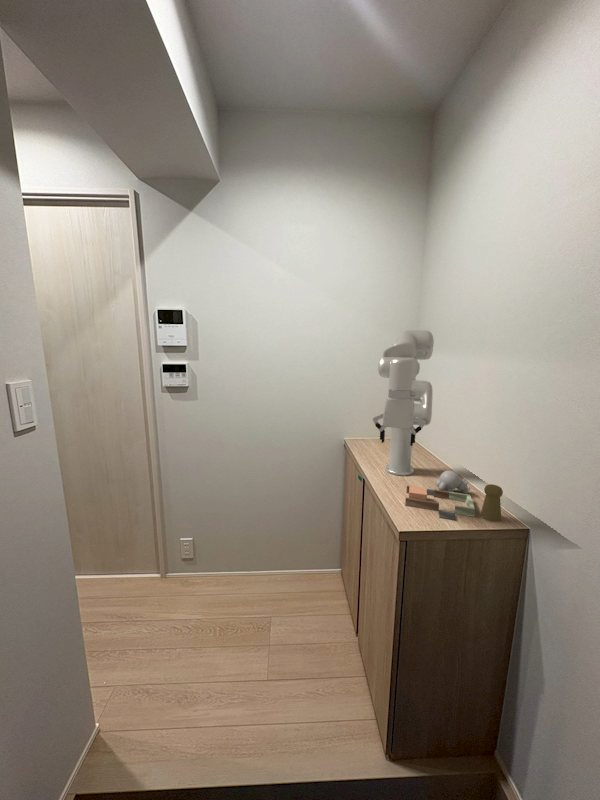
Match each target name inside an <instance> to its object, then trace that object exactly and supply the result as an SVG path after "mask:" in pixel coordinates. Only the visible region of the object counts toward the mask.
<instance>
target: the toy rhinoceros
mask: <svg viewBox="0 0 600 800" xmlns="http://www.w3.org/2000/svg"><path fill="white" fill-rule="evenodd" d="M468 483H469V482H468V481H466V478H463V479H461V478H460V475H459V474H458V472H456V471H454V470H449V469H448V470H445V471H443V472H441V474H440V475H439V479H438V480H437V481H435V486H436V487H437V488H438V490H441V491H448V492H454V490H455V489H456V490H458V491H460V493H462V494H468V492H469V491H470V490H471V486H469V487H468Z"/></svg>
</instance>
